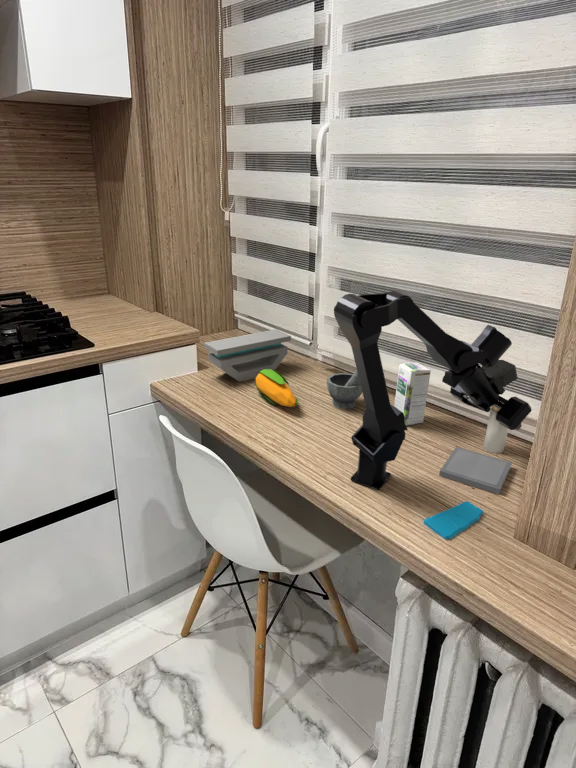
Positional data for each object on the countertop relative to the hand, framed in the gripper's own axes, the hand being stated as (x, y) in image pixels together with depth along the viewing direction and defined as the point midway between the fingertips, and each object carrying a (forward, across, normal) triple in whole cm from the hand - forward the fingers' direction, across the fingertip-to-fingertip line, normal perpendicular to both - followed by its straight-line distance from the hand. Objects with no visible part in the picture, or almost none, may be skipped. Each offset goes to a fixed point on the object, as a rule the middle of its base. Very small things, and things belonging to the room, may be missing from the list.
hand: (503, 419), depth 119 cm
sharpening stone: (-22, +63, +32) cm, 74 cm away
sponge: (-14, -18, +25) cm, 34 cm away
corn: (-21, +42, +32) cm, 57 cm away
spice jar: (+4, 0, +6) cm, 7 cm away
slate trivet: (-4, -6, +14) cm, 16 cm away
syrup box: (-3, +19, +13) cm, 23 cm away
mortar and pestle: (-10, +33, +20) cm, 40 cm away
